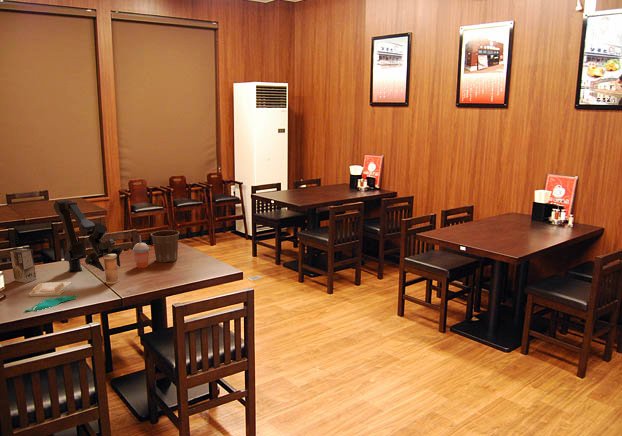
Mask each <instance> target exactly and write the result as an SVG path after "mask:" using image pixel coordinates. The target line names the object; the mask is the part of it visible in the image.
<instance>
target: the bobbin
mask: <svg viewBox="0 0 622 436" xmlns="http://www.w3.org/2000/svg"><path fill="white" fill-rule="evenodd" d="M116 257H117V255H116V254H107V255H104V256H103V257H102V258H103V261H104V272H105V284H107V285H113V284H114V285H115V284H117V283H119V282H120V279H119V274H118V265H117V260H116Z"/></svg>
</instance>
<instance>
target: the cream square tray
mask: <svg viewBox="0 0 622 436" xmlns="http://www.w3.org/2000/svg"><path fill="white" fill-rule="evenodd" d="M72 285H73V281H57V282H55V281H54V282H51V281H50V282H41V283H38V284H36V286H34V287H33V288H32V289H31V290H32V291H30V292H29V293H28V297H44V296H45V297H47V296H48V297H50V296H61V295H62V294H63V293H64V292H65V291H66V290H68V288H69V287H71V286H72Z"/></svg>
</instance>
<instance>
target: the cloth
mask: <svg viewBox="0 0 622 436" xmlns="http://www.w3.org/2000/svg"><path fill="white" fill-rule="evenodd" d="M77 297H80V295H79V294H77V295H67V296H59V297H55V298H53V297H52V298H46V299H45V300H42V301H41V302H42V303H40V302H39V303H38V304H35V305H34V306H37V307H36V308H35V310H34V311H35V312H38V311H37V310H39V311H43V310H46V309H45V308H47V309H50V308H53V307H52V306H54V307H56V306H58V305H59V304H60V303H63V302H69V301H71V300H76V298H77ZM34 306H32V307H31V308H30V309H26V310H24V311H23V313H24V312H25V313H27V312H28V311H29V312H33V308H34ZM49 307H50V308H49ZM42 309H43V310H42Z"/></svg>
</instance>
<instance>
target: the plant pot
mask: <svg viewBox="0 0 622 436" xmlns="http://www.w3.org/2000/svg"><path fill="white" fill-rule="evenodd" d="M179 236H180V231H178V230H174V229H173V230H170V229H168V230H158V231H157V230H156V231H154V232H152V233H150V237H151V240H152V243H153V247H154V248H153V250H154V254H155V261H156V262H158V263H168V262H170V263H171V262H176V261H178V253H179V252H178V249H179V238H180V237H179Z"/></svg>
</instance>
